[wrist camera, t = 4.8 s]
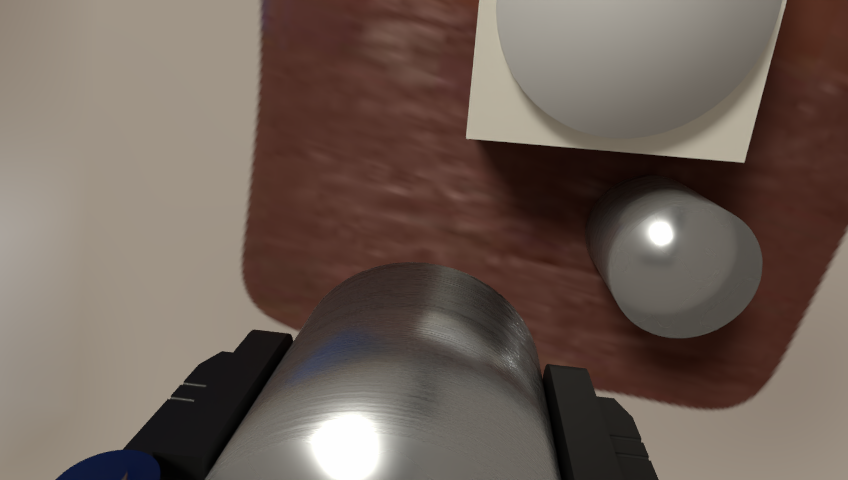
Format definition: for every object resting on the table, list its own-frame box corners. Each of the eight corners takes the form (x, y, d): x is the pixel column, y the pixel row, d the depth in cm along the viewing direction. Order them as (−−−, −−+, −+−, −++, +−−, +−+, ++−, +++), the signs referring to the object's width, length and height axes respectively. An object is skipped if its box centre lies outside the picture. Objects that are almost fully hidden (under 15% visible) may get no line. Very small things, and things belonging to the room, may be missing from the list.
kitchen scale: (492, -126, 20) (498, -196, 15) (754, -111, 19) (863, -180, 14) (468, 122, 23) (465, 141, 17) (695, 142, 22) (767, 168, 17)
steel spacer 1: (297, 249, 11) (149, 410, 6) (557, 276, 10) (623, 469, 6) (298, 457, 12) (186, 712, 8) (522, 486, 12) (550, 771, 7)
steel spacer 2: (595, 170, 23) (626, 197, 18) (716, 180, 23) (780, 211, 18) (576, 279, 25) (600, 330, 20) (690, 290, 24) (741, 345, 20)
